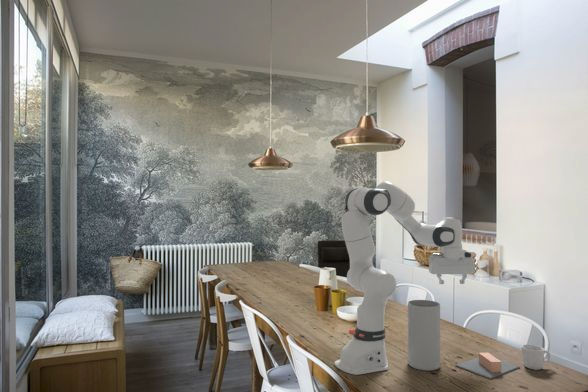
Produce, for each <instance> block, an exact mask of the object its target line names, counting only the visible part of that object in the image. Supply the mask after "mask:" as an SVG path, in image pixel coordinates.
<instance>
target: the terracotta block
mask: <svg viewBox="0 0 588 392" xmlns="http://www.w3.org/2000/svg"><path fill="white" fill-rule="evenodd" d="M478 357H479V363H480V364H481V365H482V366H484V367H485V368H486V369H488V370H489V371H490V372H501V361H500V360H501V359H499V360H498V358H497V357H495V356H494V355H492V354H491V353H489V352H478Z"/></svg>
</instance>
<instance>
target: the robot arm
mask: <svg viewBox="0 0 588 392" xmlns="http://www.w3.org/2000/svg"><path fill="white" fill-rule="evenodd" d="M344 201H345V202H344V205H345V207H344V210H345V213H344V214H343V215H342V216H341V219H340V220H341V231H342V234H343V238H344V243H345V246H346V250H347V254H348V257H349V269H348V271H347V273H346V280H347V283H348V284H349V286H350V287H352V288H353V289H355V290H356V291H358V292H360V293H363V299H362V303H361V304H359V305H358V306H357V308H356V309H357V310H356V327H355V329H352V328H349V330H348V334H350V335H352V336H353V337H352V338H351V339H350V340H349V342H348V343H346V344H345V346H344V347H342V349H341V350H340V356H339V359H337V360H335V361H334V365H335V367H336V368H338V369H339V370H341V371H342V372H345V373H347V374H351V375H354V376H355V375H356V376H357V375H358V376H359V375H363V374H370V373H375V372H381V371H388V370H389V361H388V357H387V350H386V343H385V338H386V328H385V313H386V312H385V311H386V310H385V309H386V306H387V303H388V300H389V298H390V297H391V296H392V295H393V294H394V293H395V291H396V288H397V280H396V278H395V276H394V275H393V274H391V273H390V272H388V271H387V270H385V269H380V268H378V267H377V268H376V267H375V266H374V263H373V257H374V256H375V255H376V252H377V249H376V245H375V243H374V239H373V235H372V232H371V228H370V226H369V218H370V216H379V215H382V214H384V213H385V212H387V213H388V214H389V215H390V216H392V217H393V219H394V220H395V221H397V223H398V224H399V225H401V226H402V228H404V230H406V231H407V232H408V234H409V235H410V237H411V239H412V241H413V242H414V243H415V244H416V245H418V246H429V247H436V248H441V252H437V253H435V252H434V253H431V254H430V255H429V257H428V261H429V263H428V272H429V273H430V274H431V275H436V277H437V278H438V283H439V285H444V284H445V280H444V279H442V277H443V276H442V275H462V277H461V279H459V284H460V285H464V284H465V281H466V279H467V278H468V275H473V274H475V272H476V264H475V260H474V253H473V252H470V251H467V250H465V249H463V244H462V239H463V228H462V227H463V226H462V221H461V220H460V219H459V218H456V217H450V216H445V217H442V220H440V221H439V222H438V223H435V224H426V223H422V222H419V221H418V220H416V219H415V217H414V216H412V215H413V213H414V212H415V207H416V206H415V205H416V203H415V201H414V199H413V198H412V197H411V196H410V195H409V194H407V192H406V191H404V190H403V189H402V188H401V187H398V186H397V185H395V184H394V183H391V182H390V181H382V182H380V183H379V184H378V185H376V187H375V188H370V187H362V188H361V187H360V188H353V189H351V190H349V191H348V193H346V195H345V199H344Z"/></svg>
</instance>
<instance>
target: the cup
mask: <svg viewBox="0 0 588 392" xmlns="http://www.w3.org/2000/svg"><path fill="white" fill-rule="evenodd" d="M521 352H522V360H523V361H522V362H523V366H524V367H526V368H527V369H529V370H534V371H539V370H542V369H543V367H544V363H548V362H549V361H550V360H551V353H550V352H549V350H546V349H545V348H544V347H542V346H540V345H537V344H523V345H521ZM545 354H546V358H545Z"/></svg>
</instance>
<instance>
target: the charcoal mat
mask: <svg viewBox="0 0 588 392" xmlns="http://www.w3.org/2000/svg"><path fill="white" fill-rule="evenodd" d="M497 359H498V358H497ZM498 360H500V361H501V372H490V371H489V370H488V369H486V368H485V367H484V366H482V365H481V364H480V363H479V356H476V357H474V358H471V359H468V360H466V361H462V362H459V363H457V364H455V367H457V368H459V369H462V370H464V371H468V372H470V373H473V374H475V375H479V376H481V377H483V378H486V379H489V380H492V379H495V378H497V377H500V376H502V375H505V374H507V373H510V372H513V371H516V370H518V369H520V365H517V364H514V363H511V362H508V361H505V360H502V359H498Z"/></svg>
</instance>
